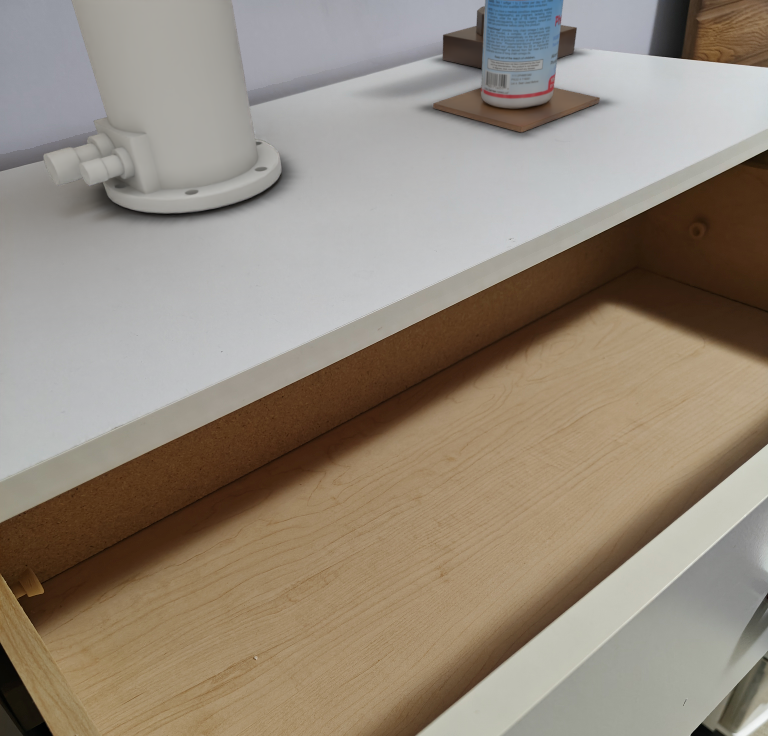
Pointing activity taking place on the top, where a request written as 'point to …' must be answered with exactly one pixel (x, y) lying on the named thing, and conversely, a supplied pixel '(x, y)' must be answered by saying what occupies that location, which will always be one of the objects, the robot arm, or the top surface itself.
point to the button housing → (470, 43)
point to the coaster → (516, 118)
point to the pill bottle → (520, 52)
